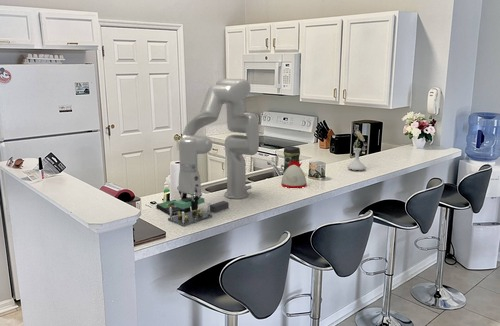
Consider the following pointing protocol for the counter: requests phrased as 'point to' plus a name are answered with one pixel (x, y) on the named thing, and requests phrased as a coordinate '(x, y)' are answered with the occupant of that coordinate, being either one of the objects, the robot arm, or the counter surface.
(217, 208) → the block
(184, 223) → the chassis
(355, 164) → the flower in vase
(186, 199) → the board
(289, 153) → the coffee jar
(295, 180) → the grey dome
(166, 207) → the disk drive
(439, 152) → the counter surface
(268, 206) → the counter surface
